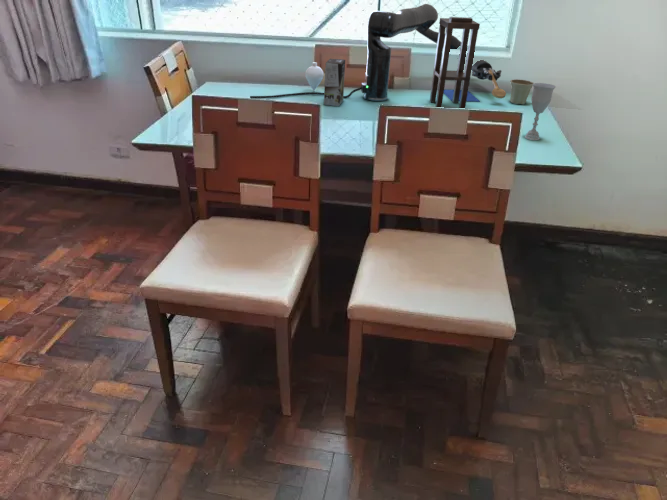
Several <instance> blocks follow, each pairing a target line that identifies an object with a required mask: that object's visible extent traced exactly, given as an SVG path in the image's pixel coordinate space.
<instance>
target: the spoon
mask: <svg viewBox="0 0 667 500" xmlns="http://www.w3.org/2000/svg"><path fill="white" fill-rule="evenodd" d="M488 73H490V74H491V75H492V80H491V84H492V85H493V89H492V91H491V95H492V97H494V98H496V99H504V98H505V97H506V95H507V92H506V91H505V90H504V89H502V88H500V87H499V85H498V82H497V81H496V80H495V77H494V75H493V73H492V70H489V71H488Z"/></svg>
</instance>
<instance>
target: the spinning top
mask: <svg viewBox="0 0 667 500" xmlns="http://www.w3.org/2000/svg"><path fill="white" fill-rule="evenodd" d="M304 76H305V79H306V82H307V84H308V86H309V87H310V88H311V89H312V90H313V91H312V92H315V90H317V88H318V87H319V86H320V85H321V83H322V80H323V79H324V77H325V72H324V70H323V69H322V68H321V67H320V66H318V62H317V61H316V62H315V61H313V62H312V65H311V66H309V67H308V68H306V70H305V72H304Z"/></svg>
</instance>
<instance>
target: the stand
mask: <svg viewBox="0 0 667 500" xmlns="http://www.w3.org/2000/svg"><path fill="white" fill-rule="evenodd" d="M438 22H439V23H438V24H439V28H438V32H439V34H438V42H437V44H436V50H435V57H434V66H433V73H432V80H431V88H430V96H429V103H431V104H435V107H442V108H443V99H444V95H445V94H444V90H445V86H446V81H454V87H453V90H454V94H453V100H452V101H451V102H452V103H453V104H459V105H458V109H459V108H465V109H466V106H467V102H466V100H467V94H468V91H469V89H470V88H469V87H470V82H471V76H472V73H471V70H472V64H473V58H474V52H475V50H476V46H477V40H478V33H479V30H480V27H481V26H480V25H481V24H480V23H479V22H477V21H475V20H474V19H473V18H472V17H463V16H461V17H460V16H449V18H447V17H446V18H445V17H439V21H438ZM454 30H463V31H462V35H461V40H460V41H461V48H460V54H459V58H458V60H457V61H458V63H457V68H456V70H448V67H449V66H448V65H449V58H450V54H449V52H450V45H451V38H452V35H453V31H454ZM444 37H445V41H444ZM443 44H444V48H443ZM467 47H468V53H467V60H466V66H465V72H464V71H463V70H464V64H465V57H466V51H467ZM460 90H462V91H461V97H460V101H459V95H460ZM435 107H434V108H435Z"/></svg>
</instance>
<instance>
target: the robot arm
mask: <svg viewBox="0 0 667 500" xmlns="http://www.w3.org/2000/svg"><path fill="white" fill-rule="evenodd" d="M438 13H439V12H438V11H437V9H436V8H435V7H434V6H433V5H432V4H429V3H423V4H421V5H419V6H416V7H415V6H414V7H410V8H401V9H399V10H398V11H396V12H392V11H383V10H373V11H372V12H371V13H370V14H369V17H368V21H367V40H366V41H367V43H366V46H367V59H366V70H365V71H366V72H365V73H364V82H361V86H360V87H358V88H354V89H353V90H351V91H350V92H349V93H348V95H343V99H347V98H350V97H351V96H352V95H353V94H354V93H355V92H358V91H360V92H361V93H362V94H363V98H364V100H365V101H371V102H385V101H386V100H387V101H388V91H389V90H388V89H389V80H390V79H389V78H390V68H391V60H392V59H391V58H392V57H391V56H392V49H391V47H390V46H388V45H387V44H385V43H384V42H383V41H382V39H381V38H383V39H391V38H394V37H396V36H398V35H400V34H407V33H411V32H414V31H416V32H418V33H419V34H420V35H422V36H424V37H425V38H427V39H428V40H430V41H431V42H433V43H435V44H436V45H437V42H438V34H439V31H435V30H432V29H431V27H432V26H433V25H434V24H435V23H436V22H437V21H438V18H439V14H438ZM444 41H445V37H444ZM461 41H462V40H459V39H458V38H457V37H456V36H455V35H453V34H452V38H451V45H450V49H457V48H458V47H459V46H461ZM443 48H444V44H443ZM484 60H485V59H483V60H480V61H477V62H476V63H475V64H474V65H473V66H472V73H471V76H472V77H475V78H477V79H479V80H488V81H491V80H492V75H491V74H490V73H488V71H489V70H492V73H493V75H494V77H495V80H496V82H497V81H498V79H500V78H501V75H502V70H501V69H500V70H497V71H496V70H495V69H493V66H492V64H490V62H489V61H488V62H487V60H485V61H484ZM491 82H492V81H491ZM307 95H309V96H311V95H313V96H314V95H315V96H324V92H315V91H314V92H313V91H311V92H310V91H309V92H308V91H307V92H306V91H305V92H294V93H283V94H275V95H249V98H250V99H274V98H284V97H293V96H307Z"/></svg>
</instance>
